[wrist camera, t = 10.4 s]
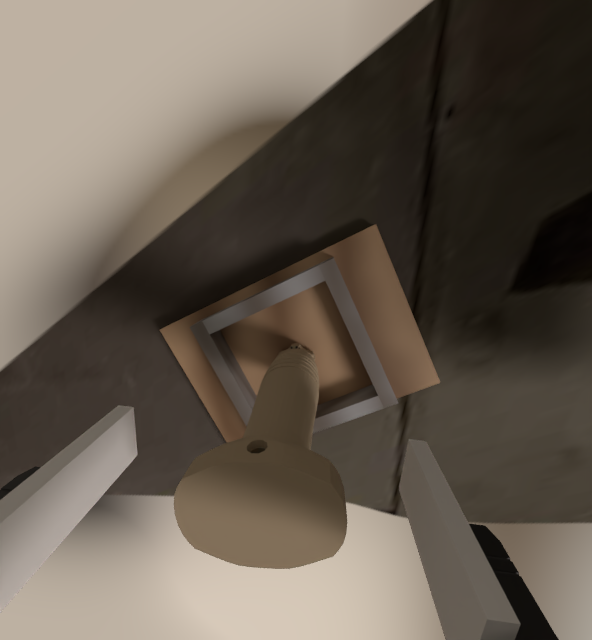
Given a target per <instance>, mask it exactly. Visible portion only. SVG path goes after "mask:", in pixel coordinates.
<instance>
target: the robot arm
mask: <svg viewBox="0 0 592 640" xmlns="http://www.w3.org/2000/svg"><path fill="white" fill-rule="evenodd" d="M136 456H137V443H136V431H135V419H134V408H133V407H127V406H119V405H118V406H117V407H116V408H115V409H113V410H112V411H111V412H110V413H108V414H107V415H106V416H105V417H103V418H102V419H101V420H100V421H98V422H97V423H96V424H95V425H93V426H92V427H91V428H90V429H88V430H87V431H86V432H85V433H83V434H82V435H81V436H80V437H78V438H77V439H76V440H75V441H73V442H72V443H71V444H70V445H68V446H67V447H66V448H65V449H63V450H62V451H61V452H60V453H58V454H57V455H56V456H55V457H53V458H52V459H51V460H50V461H48V462H47V463H46V464H45V465H43V466H42V467H34V468H32V469H30V470H28V471H26V472H24V473H22V474H20V475H19V476H17V477H15V478H14V479H13V480H12V481H10V482H9V483H8V484H6V485H5V486H4V487H2V488H1V490H0V612H1V611H2V610H3V609H4V608H5V607H6V605H7V604H8V603H9V602H10V601H11V600H12V599H13V598H14V596H15V595H16V594H17V593H18V592H19V591H20V589H21V588H22V587H23V586H24V585H25V584H26V583H27V581H28V580H29V579H30V578H31V577H32V576H33V574H34V573H35V572H36V571H37V570H38V569H39V568H40V566H41V565H42V564H43V563H44V562H45V561H46V560H47V558H48V557H49V556H50V555H51V554H52V552H54V550H55V549H56V548H57V547H58V546H59V544H60V543H61V542H62V541H63V540H64V539H65V538H66V537H67V535H68V534H69V533H70V532H71V531H72V530H73V528H74V527H75V526H76V525H77V524H78V523H79V521H80V520H81V519H82V518H83V517H84V516H85V515H86V514H87V512H88V511H89V510H90V509H91V508H92V507H93V506H94V504H95V503H96V502H97V501H98V500H99V499H100V497H101V496H102V495H103V494H104V493H105V492H106V491H107V489H108V488H109V487H110V486H111V485H112V484H113V483H114V481H115V480H116V479H117V478H118V477H119V476H120V474H121V473H122V472H123V471H124V470H125V469H126V468H127V466H128V465H129V464H130V463H131V462H132V461H133V460H134V458H135V457H136ZM399 490H400V494H401V497H402V500H403V503H404V506H405V510H406V513H407V516H408V519H409V523H410V525H411V529H412V532H413V535H414V539H415V542H416V545H417V548H418V552H419V555H420V558H421V561H422V565H423V568H424V571H425V574H426V578H427V581H428V584H429V587H430V591H431V594H432V597H433V600H434V604H435V607H436V610H437V613H438V616H439V619H440V623H441V626H442V629H443V633H444V636H445V639H446V640H559V639H558V638H557V637H556V635H555V634H554V632H553V630H552V628H551V627H550V625H549V623H548V621H547V620H546V618H545V617H544V615H543V613H542V611H541V610H540V608H539V606H538V605H537V603H536V602H535V600H534V598H533V596H532V594H531V593H530V591H529V589H528V588H527V586H526V584H525V583H524V581H523V579H522V578H521V577H520V576H519V573H518V571H517V569H516V568H515V566H514V564H513V562H511V561H510V557H509V556H508V554H507V552H506V551H505V549H504V547H503V545H502V544H501V542H500V541H499V540H498V539H497V538H496V537H495V536H494V535H493V533H492V532H491V531H490V530H489V529H488V528H487V527H486V526H483V525H476V524H469V523H468V522H467V520H466V518H465V516H464V514H463V512H462V510H461V508H460V506H459V504H458V502H457V500H456V498H455V496H454V495H453V493H452V491H451V489H450V487H449V485H448V483H447V481H446V479H445V477H444V475H443V473H442V471H441V469H440V467H439V466H438V464H437V462H436V460H435V458H434V456H433V454H432V452H431V450H430V448H429V446H428V444H427V442H426V441H420V440H411V439H409V441H408V445H407V450H406V455H405V460H404V465H403V470H402V475H401V480H400V485H399Z"/></svg>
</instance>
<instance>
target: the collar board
mask: <svg viewBox="0 0 592 640" xmlns="http://www.w3.org/2000/svg"><path fill="white" fill-rule="evenodd" d="M160 332H161V333H162V335H163V337H164V338H165V340H166V342H167V343H168V345H169V347H170V348H171V350H172V352H173V353H174V355H175V357H176V358H177V360H178V362H179V363H180V365H181V367H182V368H183V370H184V372H185V373H186V375H187V377H188V378H189V380H190V382H191V383H192V385H193V387H194V388H195V390H196V392H197V393H198V395H199V397H200V398H201V400H202V402H203V403H204V405H205V407H206V409H207V410H208V412H209V414H210V415H211V417H212V419H213V420H214V422H215V424H216V425H217V427H218V429H219V430H220V432H221V434H222V435H223V437H224V439H225V440H226V442H227V443H228V442H231V441H234V440H237V439H240V438H243V436H244V433H245V430H246V427H247V424H248V422H249V419H250V416H251V413H252V410H253V407H254V403H255V400H256V397H257V394H258V391H259V388H260V385H261V382H262V380H263V378H264V375H265V373H266V371H267V370H268V368H269V367H270V365H271V363H272V362H273V361H274V360H275V358H276V357H277V355H278V354H279V352H281V351H284V350H286V349H288V348H289V347H290V346H291V345H292V344H293V343H299V344H300V345H301V346H302V347H303V348H305V349H307V350H312V351H313V353H314V355H315V363H316V366H317V369H318V375H319V399H318V404H317V410H316V416H315V421H314V427H313V433H316V432H319V431H321V430H324V429H327V428H330V427H333V426H335V425H338V424H341V423H344V422H347V421H350V420H352V419H355V418H358V417H361V416H364V415H366V414H369V413H372V412H375V411H378V410H381V409H383V408H386V407H389V406H392V405H395V404H398V401H397V398H399V397H402V396H405V395H408V394H410V393H413V392H416V391H419V390H422V389H424V388H427V387H430V386H433V385H436V384H438V383H440V380H439V378H438V375H437V373H436V371H435V368H434V366H433V363H432V361H431V358H430V356H429V353H428V351H427V348H426V346H425V343H424V341H423V339H422V336H421V334H420V331H419V329H418V326H417V324H416V321H415V319H414V316H413V314H412V311H411V309H410V307H409V304H408V302H407V299H406V297H405V294H404V292H403V289H402V287H401V284H400V282H399V279H398V277H397V275H396V272H395V270H394V267H393V265H392V262H391V260H390V257H389V255H388V252H387V250H386V247H385V245H384V243H383V240H382V238H381V235H380V233H379V230H378V228H377V225H376V224H375V225H372V226H370V227H368V228H366V229H364V230H362V231H360V232H358V233H356V234H354V235H352V236H350V237H348V238H346V239H344V240H342V241H340V242H338V243H336V244H334V245H331V246H329V247H327V248H325V249H323V250H321V251H319V252H317V253H315V254H313V255H311V256H309V257H307V258H305V259H303V260H301V261H299V262H297V263H295V264H293V265H291V266H289V267H286V268H284V269H282V270H280V271H278V272H276V273H274V274H272V275H270V276H268V277H266V278H264V279H262V280H260V281H258V282H256V283H254V284H252V285H250V286H248V287H246V288H244V289H241V290H239V291H237V292H235V293H233V294H231V295H229V296H227V297H225V298H223V299H221V300H219V301H217V302H215V303H213V304H211V305H209V306H207V307H205V308H203V309H201V310H199V311H196V312H194V313H192V314H190V315H188V316H186V317H184V318H182V319H180V320H178V321H176V322H174V323H172V324H170V325H168V326H166V327H164V328H162V329H160ZM313 433H312V434H313Z"/></svg>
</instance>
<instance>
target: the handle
mask: <svg viewBox="0 0 592 640" xmlns="http://www.w3.org/2000/svg"><path fill="white" fill-rule="evenodd" d="M318 399H319V375H318V369H317V366H316V363H315V355H314V353H313V351H312V350H307V349H305V348H303V347H302V346H301V345H300V344H299V343H293V344H292V345H291V346H290V347H289V348H288V349H286V350H284V351H281V352H279V354H278V355H277V357H276V358H275V360H274V361H273V362H272V363H271V365H270V367H269V368H268V370H267V371H266V373H265V375H264V378H263V380H262V382H261V385H260V388H259V391H258V394H257V397H256V400H255V403H254V407H253V410H252V413H251V416H250V419H249V422H248V424H247V427H246V430H245V433H244V436H243V438H240V439H237V440H234V441H231V442H228V443H225V444H223V445H221V446H218V447H216V448H214V449H212V450H210V451H207V452H205V453H204V454H202V455H200V456H198V457H196V458H195V459H194V461H193V462H192V463H191V465H190V467H189V468H188V470H187V471H186V473H185V475H184V476H183V478H182V480H181V481H180V483H179V485H178V487H177V489H176V492H175V496H174V510H175V516H176V519H177V523H178V526H179V528H180V530H181V532H182V534H183V535H184V537H185V538H186V539H187V541H188V542H189V543H190V544H191V545H192V546H193V547H194V548H195V549H198V550H200V551H202V552H204V553H207V554H209V555H212V556H214V557H216V558H219V559H221V560H224V561H227V562H230V563H233V564H236V565H240V566H247V567H258V568H275V569H285V568H286V569H287V568H288V569H289V568H295V567H300V566H304V565H307V564H311V563H314V562H317V561H320V560H323V559H326V558H329V557H332V556H334V555H335V554H336V552H337V551H338V550H339V549H340V547H341V546H342V544H343V542H344V539H345V535H346V529H347V514H346V502H345V494H344V487H343V484H342V481H341V478H340V475H339V473H338V471H337V470H336V468H335V467H334V465H333V464H332V463H331V462H330V461H329V460H328V459H326V458H324V457H323V456H321V455H319V454H317V453H315V452H313V451H311V450H310V447H311V440H312V433H313V427H314V421H315V416H316V410H317V404H318Z"/></svg>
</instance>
